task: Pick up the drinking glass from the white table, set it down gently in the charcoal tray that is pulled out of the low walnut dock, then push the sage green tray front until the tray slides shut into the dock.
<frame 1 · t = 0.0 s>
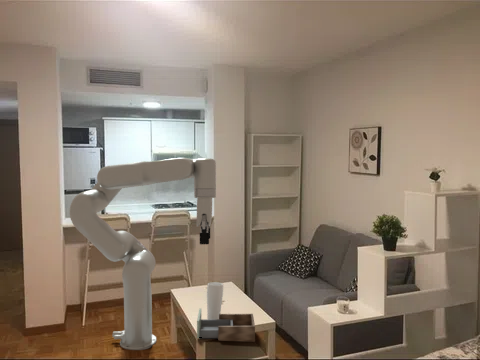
hand: (205, 241, 142), 38 cm above the table, tool pointing down, fingers open, 9 cm apart
drinking glass: (213, 320, 168), on the table
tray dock: (236, 335, 154), on the table
tray: (215, 323, 153), point 5 cm above the table, slide at 7.0 cm
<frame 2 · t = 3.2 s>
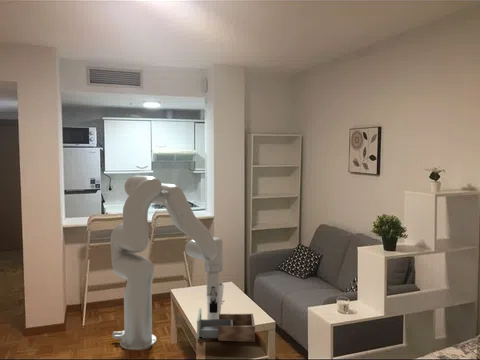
hand: (213, 308, 168), 5 cm above the table, tool pointing down, fingers open, 7 cm apart
nothing on the table moved.
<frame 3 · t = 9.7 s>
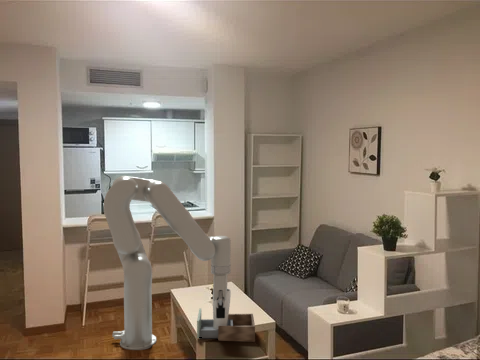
hand: (220, 312, 153), 9 cm above the table, tool pointing down, fingers open, 9 cm apart
drinking glass: (219, 329, 153), point 2 cm above the table, touching tray
tray: (215, 323, 153), point 5 cm above the table, slide at 7.0 cm, touching drinking glass
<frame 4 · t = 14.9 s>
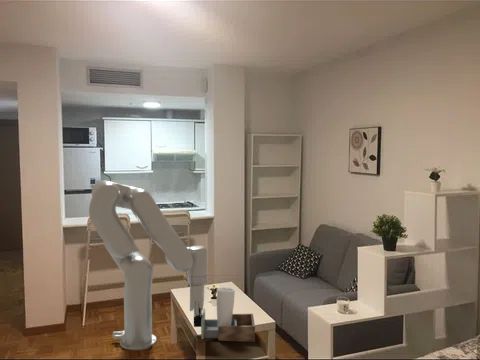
hand: (198, 325, 153), 4 cm above the table, tool pointing down, fingers closed
drinking glass: (223, 329, 153), point 2 cm above the table, touching tray
tray: (219, 323, 153), point 5 cm above the table, slide at 5.5 cm, touching drinking glass, gripper
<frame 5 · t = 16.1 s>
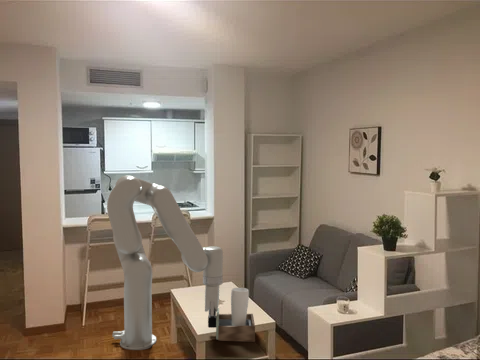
hand: (212, 326, 153), 3 cm above the table, tool pointing down, fingers closed
drinking glass: (238, 329, 154), point 2 cm above the table, touching tray
tray: (233, 323, 154), point 5 cm above the table, slide at 0.0 cm, touching drinking glass, gripper, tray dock
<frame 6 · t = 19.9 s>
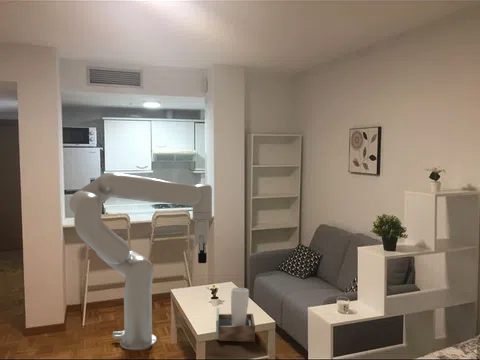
hand: (202, 262, 157), 27 cm above the table, tool pointing down, fingers closed
tray: (233, 323, 154), point 5 cm above the table, slide at 0.0 cm, touching drinking glass, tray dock
everything else where it was.
at the end: tray slide at 0.0 cm; drinking glass inside the target area on the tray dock (0.8 cm from its centre), point 2.3 cm above the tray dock's base; drinking glass tilted 6° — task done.
